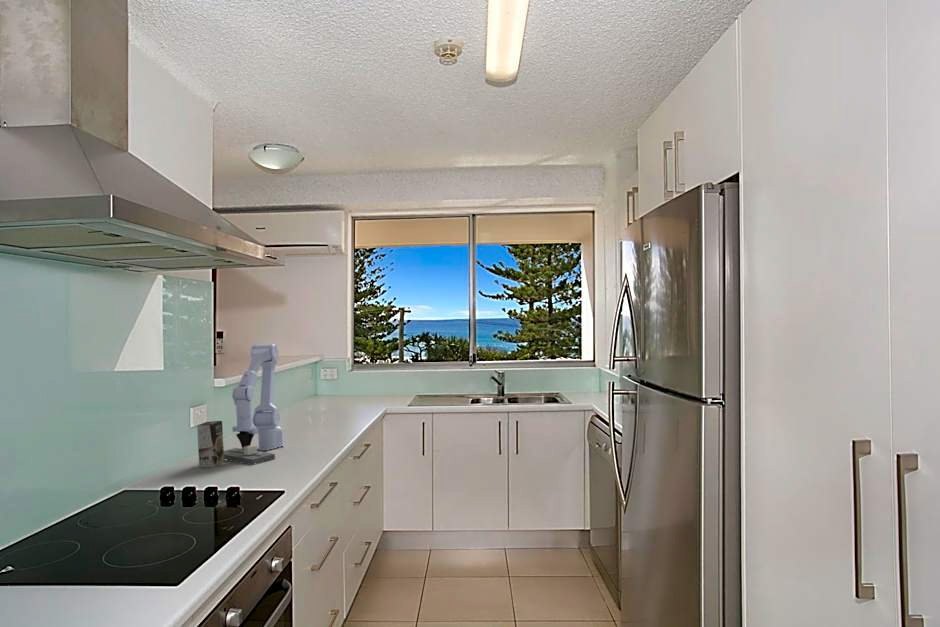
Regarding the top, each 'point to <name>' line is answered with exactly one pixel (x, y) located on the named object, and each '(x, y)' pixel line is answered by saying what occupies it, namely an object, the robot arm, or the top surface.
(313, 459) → the top surface
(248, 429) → the robot arm
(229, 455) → the fader panel
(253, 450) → the fader knob
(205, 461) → the coffee box
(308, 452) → the top surface
